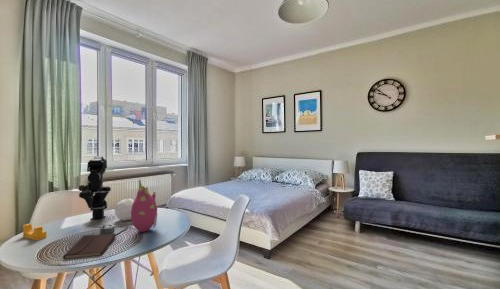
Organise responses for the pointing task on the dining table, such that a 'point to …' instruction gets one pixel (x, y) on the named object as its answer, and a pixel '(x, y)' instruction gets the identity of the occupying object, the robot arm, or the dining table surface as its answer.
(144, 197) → the pink dragon fruit
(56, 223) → the dining table surface
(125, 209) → the geodesic sphere
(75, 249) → the notebook
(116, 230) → the gray square plate
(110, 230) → the ring
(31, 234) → the pipe clamp
